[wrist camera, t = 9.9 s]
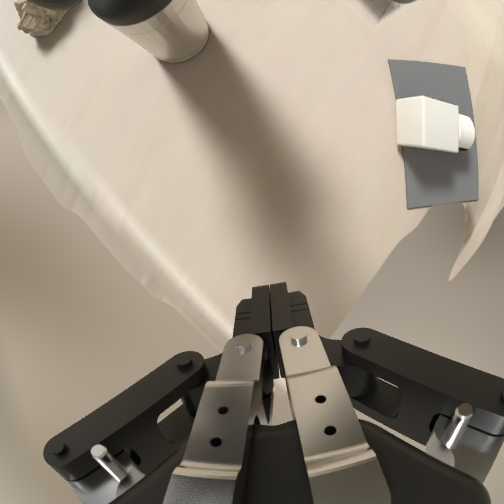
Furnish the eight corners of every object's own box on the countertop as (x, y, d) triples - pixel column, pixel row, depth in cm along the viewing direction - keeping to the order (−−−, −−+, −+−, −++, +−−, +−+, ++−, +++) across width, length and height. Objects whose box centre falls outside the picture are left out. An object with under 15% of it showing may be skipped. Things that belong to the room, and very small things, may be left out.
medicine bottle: (395, 98, 36) (451, 111, 37) (395, 144, 39) (451, 152, 40) (422, 94, 30) (479, 111, 31) (423, 147, 32) (479, 157, 33)
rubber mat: (387, 59, 35) (388, 59, 35) (463, 67, 34) (464, 67, 34) (406, 208, 43) (407, 208, 43) (477, 199, 42) (478, 199, 42)
